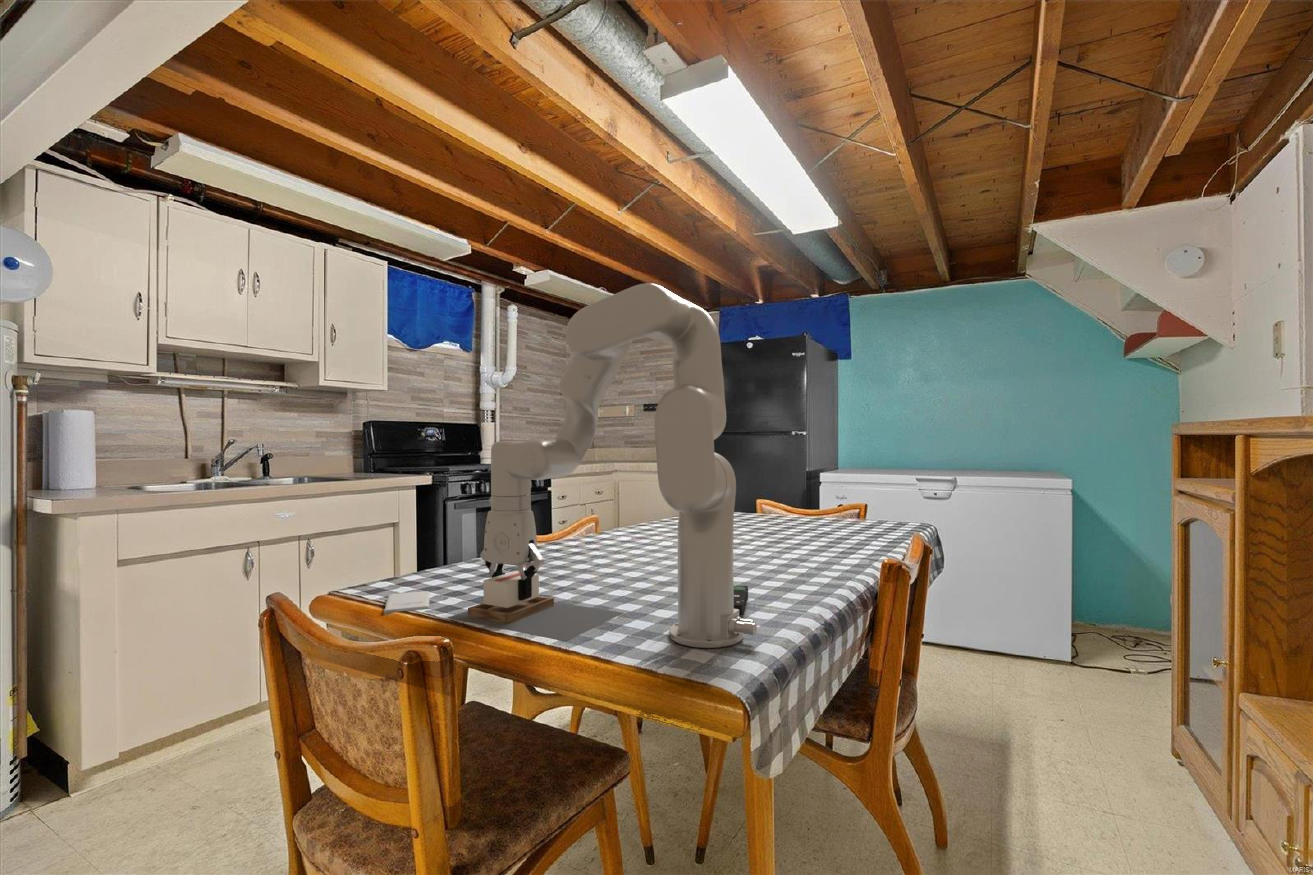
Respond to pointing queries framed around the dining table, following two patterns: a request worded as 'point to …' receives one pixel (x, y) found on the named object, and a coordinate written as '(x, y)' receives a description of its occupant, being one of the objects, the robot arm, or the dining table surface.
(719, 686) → the dining table surface
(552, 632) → the mat
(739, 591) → the disk drive
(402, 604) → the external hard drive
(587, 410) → the robot arm
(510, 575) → the block
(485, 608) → the tray
